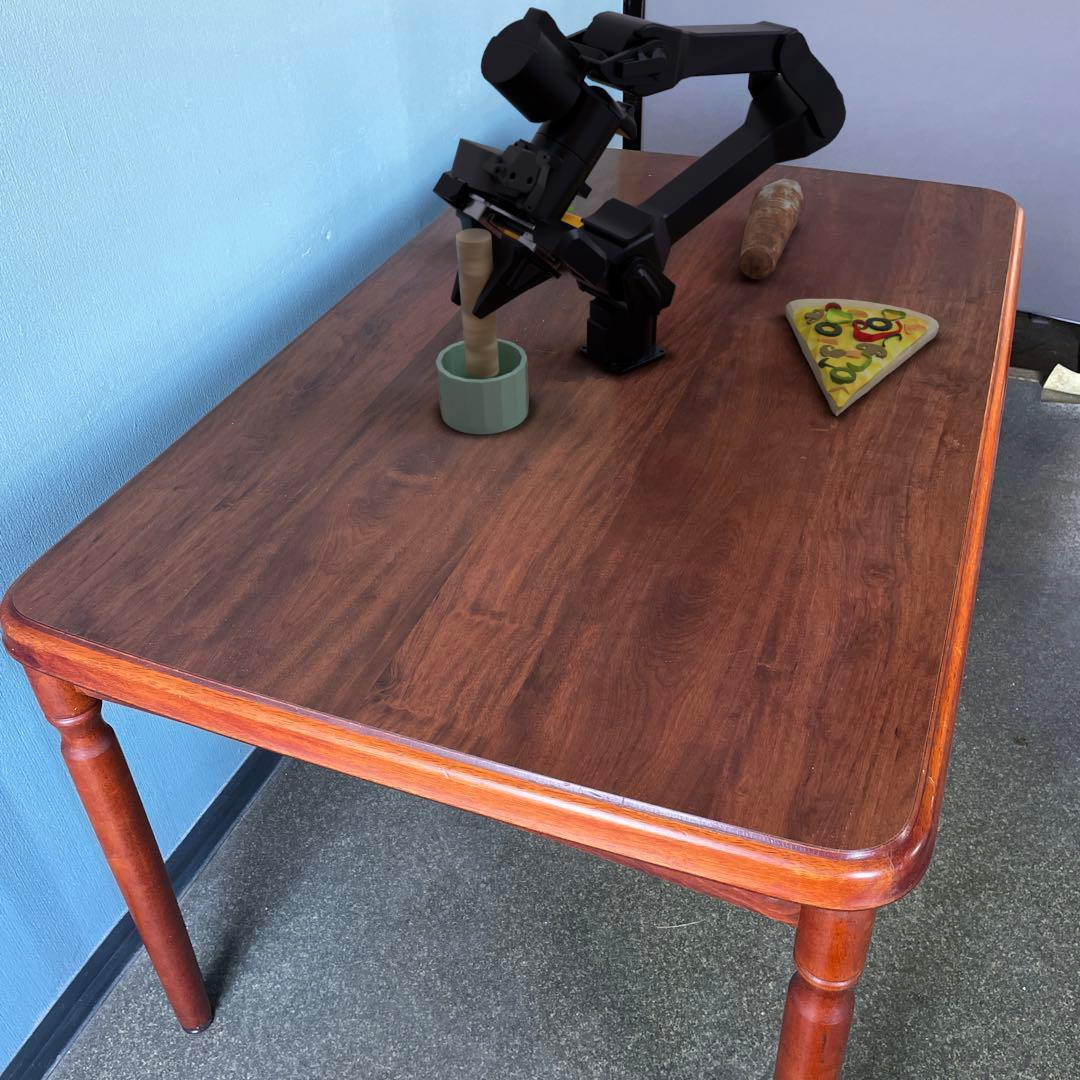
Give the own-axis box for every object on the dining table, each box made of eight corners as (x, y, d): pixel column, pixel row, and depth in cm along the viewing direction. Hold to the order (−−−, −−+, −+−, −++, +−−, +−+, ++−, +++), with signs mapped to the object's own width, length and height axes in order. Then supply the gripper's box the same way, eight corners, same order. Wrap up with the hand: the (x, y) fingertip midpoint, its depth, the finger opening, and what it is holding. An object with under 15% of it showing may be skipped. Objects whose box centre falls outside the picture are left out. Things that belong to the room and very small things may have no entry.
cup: (495, 379, 105) (492, 329, 102) (545, 414, 100) (544, 362, 97) (424, 407, 102) (419, 356, 98) (473, 444, 97) (469, 391, 93)
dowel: (501, 363, 99) (493, 228, 91) (496, 380, 97) (487, 242, 89) (469, 362, 100) (459, 227, 92) (463, 378, 97) (452, 241, 89)
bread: (803, 223, 134) (809, 179, 131) (775, 287, 120) (781, 240, 117) (752, 217, 136) (757, 173, 132) (719, 280, 122) (723, 233, 118)
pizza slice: (937, 328, 112) (943, 302, 110) (922, 431, 96) (928, 403, 95) (787, 308, 116) (791, 282, 114) (750, 404, 101) (753, 376, 99)
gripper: (441, 73, 92) (346, 232, 93) (578, 126, 80) (466, 306, 82) (519, 146, 100) (430, 290, 102) (654, 203, 88) (550, 364, 90)
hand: (465, 310), depth 94 cm, fingers closed on dowel, 3 cm apart
